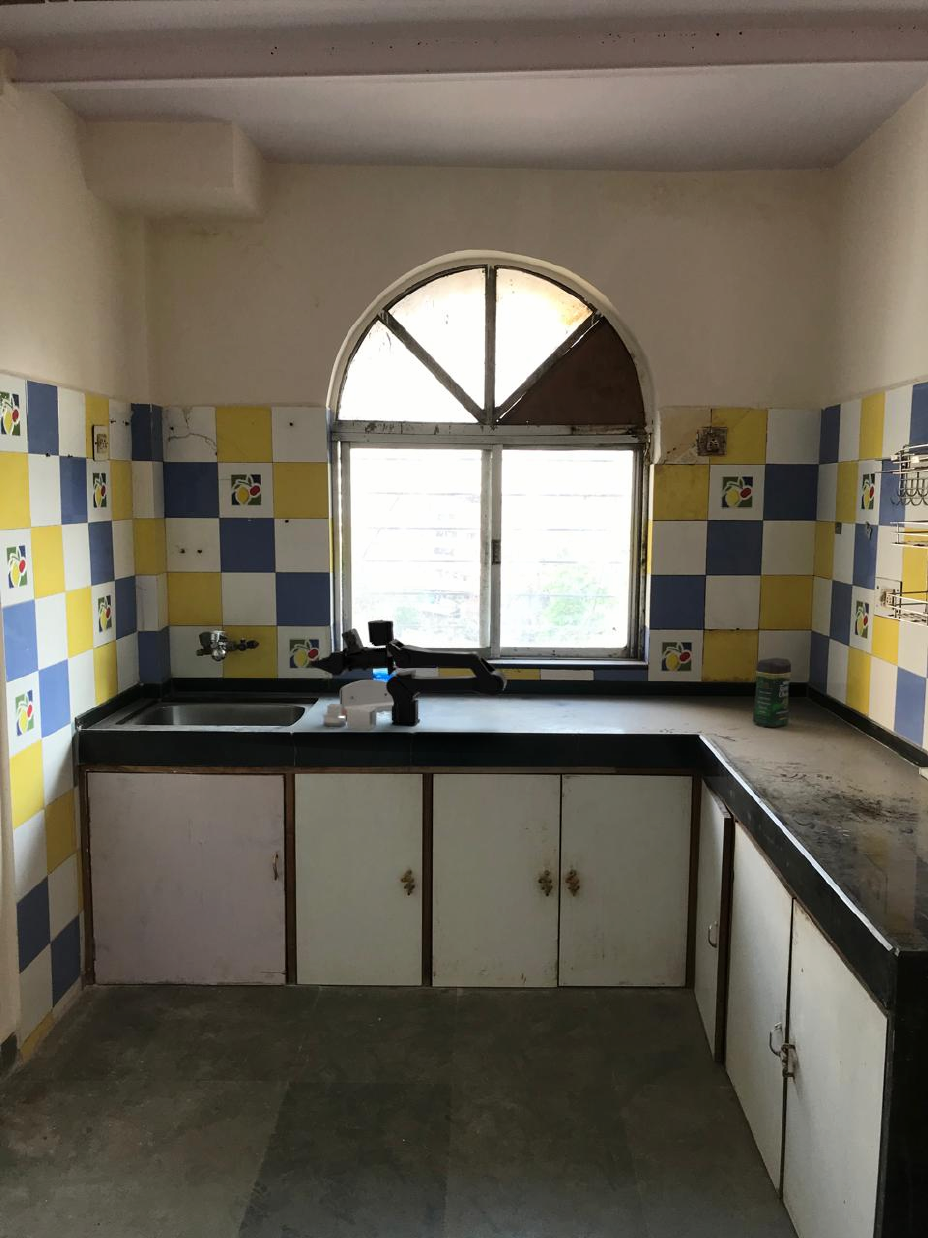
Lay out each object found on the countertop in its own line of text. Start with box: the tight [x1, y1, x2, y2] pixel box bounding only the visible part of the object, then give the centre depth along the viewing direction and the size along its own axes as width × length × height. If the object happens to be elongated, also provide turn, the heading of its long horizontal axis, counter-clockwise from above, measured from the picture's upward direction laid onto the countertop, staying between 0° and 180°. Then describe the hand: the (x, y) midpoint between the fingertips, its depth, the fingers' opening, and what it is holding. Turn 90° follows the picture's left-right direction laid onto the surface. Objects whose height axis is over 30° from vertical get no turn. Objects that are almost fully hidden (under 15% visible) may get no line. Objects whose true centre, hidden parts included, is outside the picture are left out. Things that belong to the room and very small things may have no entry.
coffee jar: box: [752, 657, 792, 728], centre depth 267 cm, size 10×8×19 cm
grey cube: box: [346, 706, 377, 732], centre depth 259 cm, size 6×6×5 cm
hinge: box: [339, 679, 394, 714], centre depth 280 cm, size 17×5×10 cm, turn 118°
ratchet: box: [322, 703, 348, 728], centre depth 264 cm, size 6×12×6 cm, turn 168°
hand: (316, 662), depth 267 cm, fingers open, 9 cm apart
